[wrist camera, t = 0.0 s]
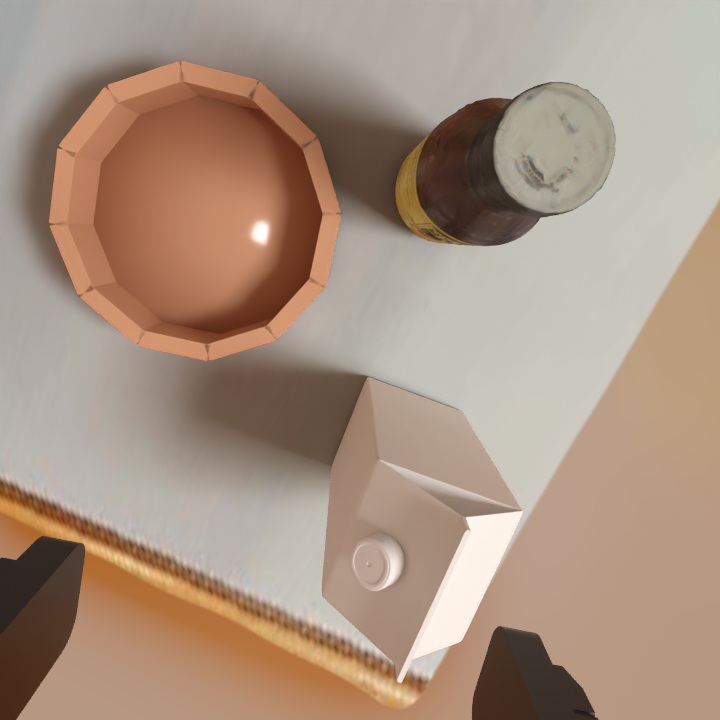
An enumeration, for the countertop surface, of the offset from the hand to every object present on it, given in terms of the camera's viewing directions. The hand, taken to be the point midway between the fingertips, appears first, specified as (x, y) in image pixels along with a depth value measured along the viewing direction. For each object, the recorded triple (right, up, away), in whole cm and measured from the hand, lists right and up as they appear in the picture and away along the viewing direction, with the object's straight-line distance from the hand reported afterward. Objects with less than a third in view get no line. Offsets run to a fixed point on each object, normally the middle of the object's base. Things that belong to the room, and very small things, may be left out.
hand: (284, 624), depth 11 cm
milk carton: (+4, 0, +30) cm, 31 cm away
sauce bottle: (+7, +16, +27) cm, 32 cm away
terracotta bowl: (-8, +14, +27) cm, 31 cm away
